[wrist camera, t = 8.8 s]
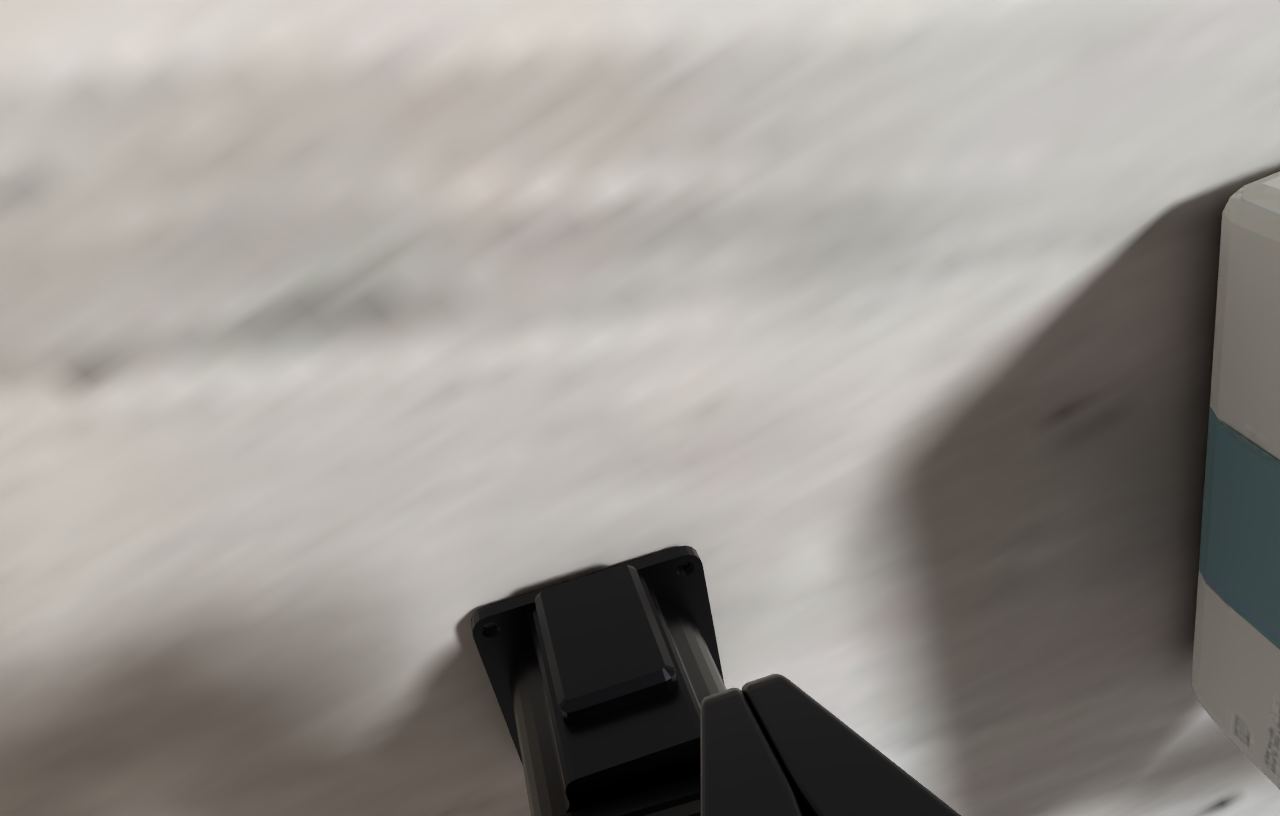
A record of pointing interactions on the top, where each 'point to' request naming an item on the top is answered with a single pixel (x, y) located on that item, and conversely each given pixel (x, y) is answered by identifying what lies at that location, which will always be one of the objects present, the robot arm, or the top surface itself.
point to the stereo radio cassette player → (1244, 487)
